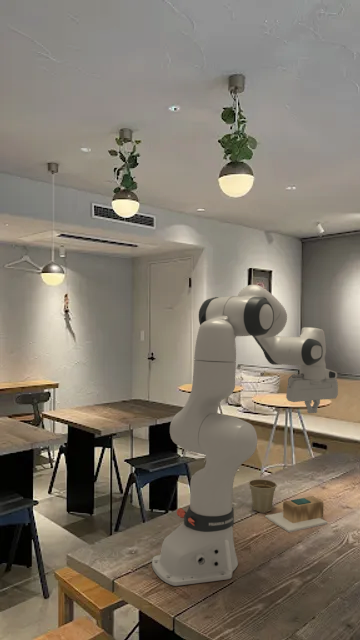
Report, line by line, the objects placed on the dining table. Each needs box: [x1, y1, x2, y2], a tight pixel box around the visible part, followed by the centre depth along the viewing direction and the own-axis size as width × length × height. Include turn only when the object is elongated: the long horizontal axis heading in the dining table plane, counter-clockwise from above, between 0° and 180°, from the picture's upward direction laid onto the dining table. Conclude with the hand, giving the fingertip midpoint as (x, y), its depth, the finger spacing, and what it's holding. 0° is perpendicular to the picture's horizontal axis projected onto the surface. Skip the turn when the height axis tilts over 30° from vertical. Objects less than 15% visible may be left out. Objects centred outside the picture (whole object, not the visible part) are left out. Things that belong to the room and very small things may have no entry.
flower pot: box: [248, 478, 278, 513], centre depth 163 cm, size 9×9×9 cm
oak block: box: [282, 495, 325, 523], centre depth 155 cm, size 5×5×12 cm
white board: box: [265, 511, 329, 533], centre depth 154 cm, size 15×12×1 cm
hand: (312, 412), depth 169 cm, fingers closed
